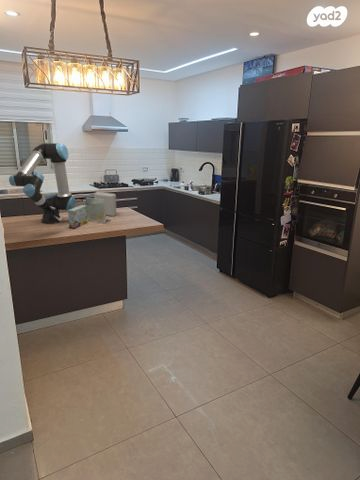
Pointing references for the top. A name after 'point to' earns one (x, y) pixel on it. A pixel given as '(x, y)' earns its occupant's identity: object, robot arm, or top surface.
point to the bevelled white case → (108, 202)
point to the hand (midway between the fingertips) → (60, 219)
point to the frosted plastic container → (96, 210)
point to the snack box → (77, 216)
